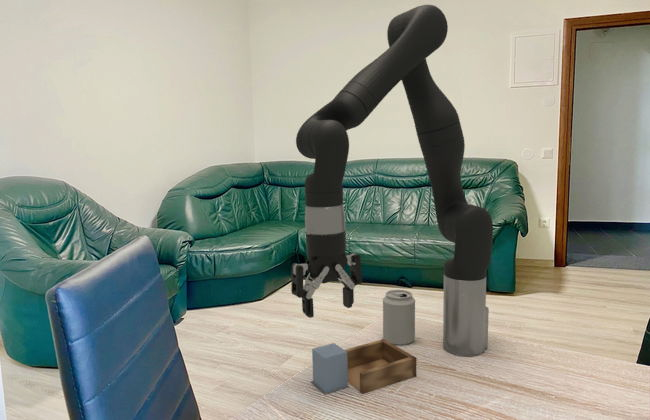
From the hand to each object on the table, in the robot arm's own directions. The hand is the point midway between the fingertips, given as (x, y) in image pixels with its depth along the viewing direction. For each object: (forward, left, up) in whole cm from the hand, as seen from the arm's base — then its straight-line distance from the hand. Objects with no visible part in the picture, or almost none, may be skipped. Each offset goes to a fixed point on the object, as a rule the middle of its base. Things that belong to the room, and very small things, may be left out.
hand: (328, 311), depth 96 cm
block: (0, 0, -15) cm, 15 cm away
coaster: (0, 0, -16) cm, 16 cm away
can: (-25, -10, -16) cm, 31 cm away
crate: (-10, +1, -16) cm, 19 cm away
